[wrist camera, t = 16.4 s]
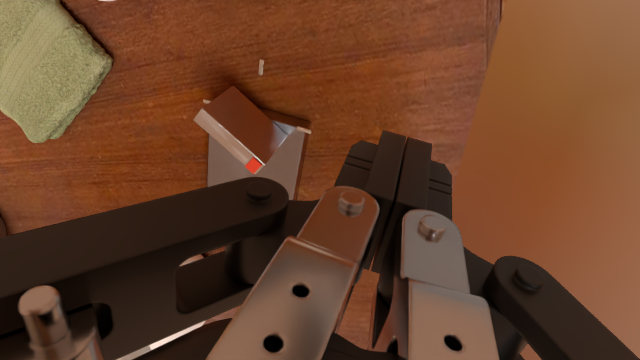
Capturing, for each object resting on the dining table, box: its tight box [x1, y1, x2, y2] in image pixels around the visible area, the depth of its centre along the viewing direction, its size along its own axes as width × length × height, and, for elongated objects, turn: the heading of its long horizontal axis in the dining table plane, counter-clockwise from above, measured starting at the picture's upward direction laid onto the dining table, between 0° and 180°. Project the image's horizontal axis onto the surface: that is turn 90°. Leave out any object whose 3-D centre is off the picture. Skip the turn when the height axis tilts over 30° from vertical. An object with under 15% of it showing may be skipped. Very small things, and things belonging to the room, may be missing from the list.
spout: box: [194, 86, 287, 174], centre depth 37 cm, size 7×2×6 cm, turn 49°
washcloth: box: [0, 0, 113, 143], centre depth 44 cm, size 13×18×3 cm
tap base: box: [203, 59, 311, 200], centre depth 44 cm, size 24×11×2 cm, turn 169°
